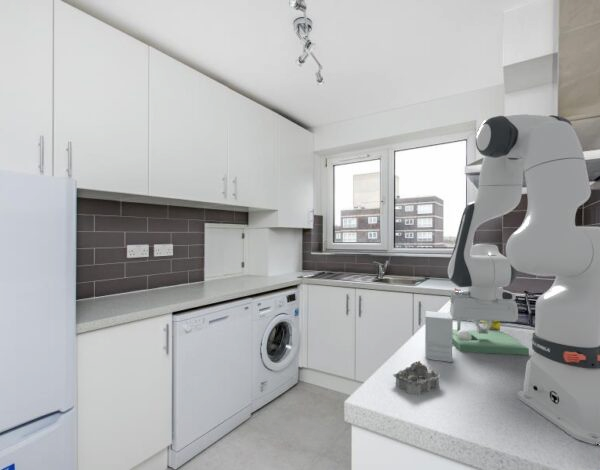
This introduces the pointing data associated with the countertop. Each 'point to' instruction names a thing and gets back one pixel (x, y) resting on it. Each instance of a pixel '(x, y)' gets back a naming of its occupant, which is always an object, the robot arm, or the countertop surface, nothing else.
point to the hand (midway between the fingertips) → (482, 333)
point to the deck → (488, 342)
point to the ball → (464, 334)
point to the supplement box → (438, 336)
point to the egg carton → (410, 380)
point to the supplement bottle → (493, 326)
